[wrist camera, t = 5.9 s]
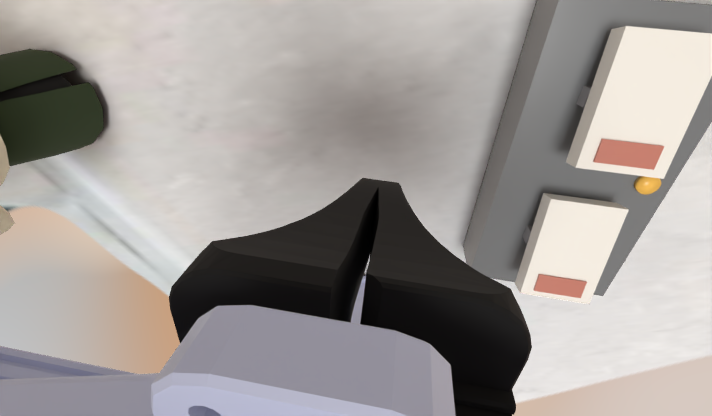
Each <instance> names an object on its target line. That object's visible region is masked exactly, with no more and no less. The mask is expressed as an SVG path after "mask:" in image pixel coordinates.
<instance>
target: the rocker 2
mask: <svg viewBox="0 0 712 416" xmlns="http://www.w3.org/2000/svg"><path fill="white" fill-rule="evenodd" d="M711 76H712V34H711V33H699V32H688V31H677V30H666V29H654V28H643V27H632V26H624V27H619V28H614V29H611V32H610V35H609V38H608V41H607V43H606V46H605V49H604V52H603V55H602V58H601V61H600V64H599V67H598V70H597V73H596V75H595V78H594V81H593V84H592V87H591V90H590V93H589V96H588V99H587V102H586V104H585V107H584V110H583V113H582V116H581V119H580V122H579V125H578V128H577V131H576V134H575V136H574V139H573V142H572V145H571V148H570V151H569V154H568V157H567V160H566V163H568V164H570V165H572V166H573V167H575V168H582V169H590V170H598V171H605V172H613V173H621V174H629V175H637V176H645V177H653V178H661V179H664V177H665V175H666V173H667V171H668V169H669V166H670V164H671V162H672V160H673V158H674V156H675V154H676V151H677V149H678V147H679V145H680V143H681V141H682V139H683V136H684V134H685V132H686V130H687V128H688V126H689V124H690V121H691V119H692V117H693V115H694V113H695V111H696V109H697V106H698V104H699V102H700V100H701V98H702V96H703V94H704V91H705V89H706V87H707V85H708V83H709V81H710V79H711Z"/></svg>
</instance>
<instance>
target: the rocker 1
mask: <svg viewBox="0 0 712 416" xmlns="http://www.w3.org/2000/svg"><path fill="white" fill-rule="evenodd" d="M628 211H629V209H627V208H625V207H623V206H622V205H620V204H618V203H615V202H607V201H600V200H593V199H585V198H578V197H570V196H563V195H555V194H548V193H543V196H542V199H541V202H540V205H539V208H538V211H537V215H536V218H535V221H534V224H533V227H532V230H531V233H530V237H529V240H528V243H527V246H526V249H525V252H524V256H523V259H522V262H521V265H520V268H519V271H518V274H517V278H516V281H515V285H516V286H517V288H518V290H519V292H520V293H522V294H528V295H534V296H540V297H547V298H553V299H559V300H565V301H571V302H578V303H584V304H589V303H590V301H591V299H592V296H593V294H594V292H595V289H596V287H597V284H598V282H599V280H600V277H601V275H602V273H603V270H604V268H605V265H606V263H607V261H608V258H609V256H610V253H611V251H612V249H613V246H614V244H615V242H616V239H617V237H618V234H619V232H620V230H621V227H622V225H623V223H624V220H625V218H626V215H627V213H628Z"/></svg>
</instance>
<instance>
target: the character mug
mask: <svg viewBox="0 0 712 416" xmlns="http://www.w3.org/2000/svg"><path fill="white" fill-rule="evenodd" d="M73 70H77V69H76V68H75V67H74V66H73V64H71V63H69V62H68V61H66V60H64V59H62V58H61V57H59V56H57V55H55V54H54V53H52V52H47V51H40V50H33V49H28V50H23V51H18V52H13V53H8V54H3V55H0V186H1V185H2V184H3V182H4V180H5V178H6V175H7V173H8V171H9V168H10V166H13V165H17V164H21V163H25V162H30V161H34V160H38V159H42V158H46V157H51V156H55V155H59V154H62V153H65V152H69V151H72V150H76V149H79V148H82V147H84V146H87V145H90V144H92V143H94V141H95V140H96V138H97V137H98V136H99V134H100V133H101V131H102V130H103V128H104V126H103V108H102V106H101V104H100V102H99V99H98V97H97V95H96V93H95V90H94V88H93V87H92V86H91V85H90V84H89V83H83V84H79V85H74V86H71V84H70V82H69V81H67V80H66V79H65V78H63V77H62V76H61V75H59V74H62V73H65V72H69V71H73ZM13 224H14V221H13V219H12V217H11V216H10V214H9V212H7V211H6V210H5V209H4V208H3V207H2V206H0V234H2V233H4V232H6V231H8V230H9V229H10V228H11V227H12V226H13Z"/></svg>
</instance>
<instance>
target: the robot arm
mask: <svg viewBox="0 0 712 416" xmlns="http://www.w3.org/2000/svg"><path fill="white" fill-rule="evenodd" d="M369 255H370V262H369V266H368V269H367V273H366V276H363V275H364V272H365V268H366V265H367V262H368V259H369ZM169 302H170V310H171V313H172V316H173V320H174V324H175V327H176V330H177V334H178V337H179V340H180V345H179V346H178V348H177V349H176V350H175V352H174V353H173V355H172V356H171V357H170V359H169V360H168V362H167V363H166V365H165V366H164V367H163V369H162V370H161V372H160V373H156V374H134V373H130V372H125V371H120V370H115V369H110V368H105V367H100V366H95V365H91V364H85V363H81V362H76V361H71V360H66V359H61V358H56V357H51V356H46V355H41V354H36V353H31V352H26V351H22V350H17V349H12V348H7V347H2V346H0V416H512V414H514V413H515V410H516V404H515V400H514V396H513V392H512V388H513V386H514V384H515V383H516V381H517V379H518V377H519V375H520V373H521V371H522V370H523V368H524V366H525V364H526V362H527V360H528V358H529V354H530V351H531V348H532V346H531V338H530V333H529V330H528V327H527V324H526V321H525V319H524V316H523V314H522V312H521V309H520V307H519V305H518V303H517V301H516V299H515V297H514V295H513V293H512V291H511V289H510V288H508V287H506V286H504V285H502V284H500V283H498V282H497V281H495V280H493V279H491V278H489V277H487V276H485V275H483V274H482V273H480V272H478V271H477V270H475V269H474V268H472V267H470V266H469V265H467V264H466V263H464V262H463V261H461V260H460V259H459V258H457V257H456V256H455V255H453V254H452V253H451V252H450V251H448V250H447V249H446V248H445V247H444V246H442V245H441V244H440V243H439V242H438V241H437V240H436V239H435V238H434V237H433V236H432V235H431V234H430V233H429V232H428V231H427V230H426V229H425V227H424V226H423V225H422V223H421V222H420V221H419V219H418V218H417V216H416V215H415V213H414V212H413V210H412V209H411V207H410V205H409V203H408V202H407V200H406V198H405V196H404V194H403V191H402V189H401V186H400V185H399V183H396V182H388V181H381V180H374V179H366V178H362V179H361V180H360V181H358V182H357V183H356V184H355V185H354V186H353V187H352V188H350V189H349V190H348V191H347V192H346V193H344V194H343V195H342V196H341V197H339V198H338V199H337V200H335V201H334V202H332V203H331V204H329V205H328V206H326V207H325V208H323V209H322V210H320V211H318V212H316V213H314V214H312V215H310V216H308V217H306V218H304V219H301V220H299V221H296V222H294V223H291V224H288V225H286V226H283V227H280V228H277V229H273V230H270V231H266V232H262V233H258V234H254V235H249V236H244V237H238V238H231V239H225V240H218V241H212V242H211V243H210V244H209V245H208V246H207V247H206V248H205V249H204V250H203V251H202V252H201V253H200V254H199V256H198V257H197V258H196V259H195V260H194V261H193V263H192V264H191V265H190V266H189V267H188V268H187V270H186V271H185V272H184V273H183V274H182V275H181V277H180V278H179V279H178V280H177V281H176V282H175V284H174V285H173V286H172V288H171V292H170V296H169Z"/></svg>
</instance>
